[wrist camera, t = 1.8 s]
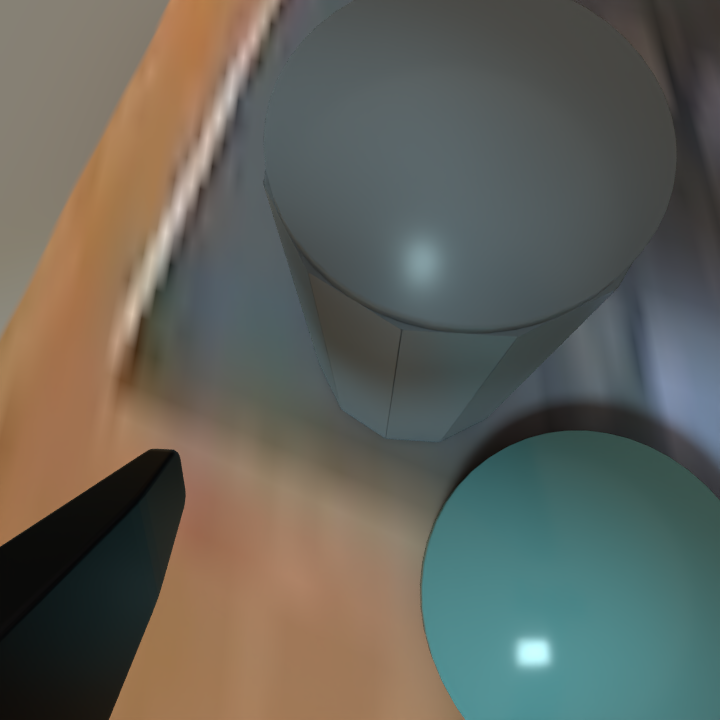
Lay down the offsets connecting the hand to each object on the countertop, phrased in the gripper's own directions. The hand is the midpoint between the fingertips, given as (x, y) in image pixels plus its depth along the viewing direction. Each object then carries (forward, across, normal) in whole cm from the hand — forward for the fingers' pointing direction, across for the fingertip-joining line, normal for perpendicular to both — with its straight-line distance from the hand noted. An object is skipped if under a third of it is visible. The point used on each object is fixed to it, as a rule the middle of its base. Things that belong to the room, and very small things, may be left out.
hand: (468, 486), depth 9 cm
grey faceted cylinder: (+13, 0, +4) cm, 14 cm away
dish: (+7, -6, +10) cm, 14 cm away
